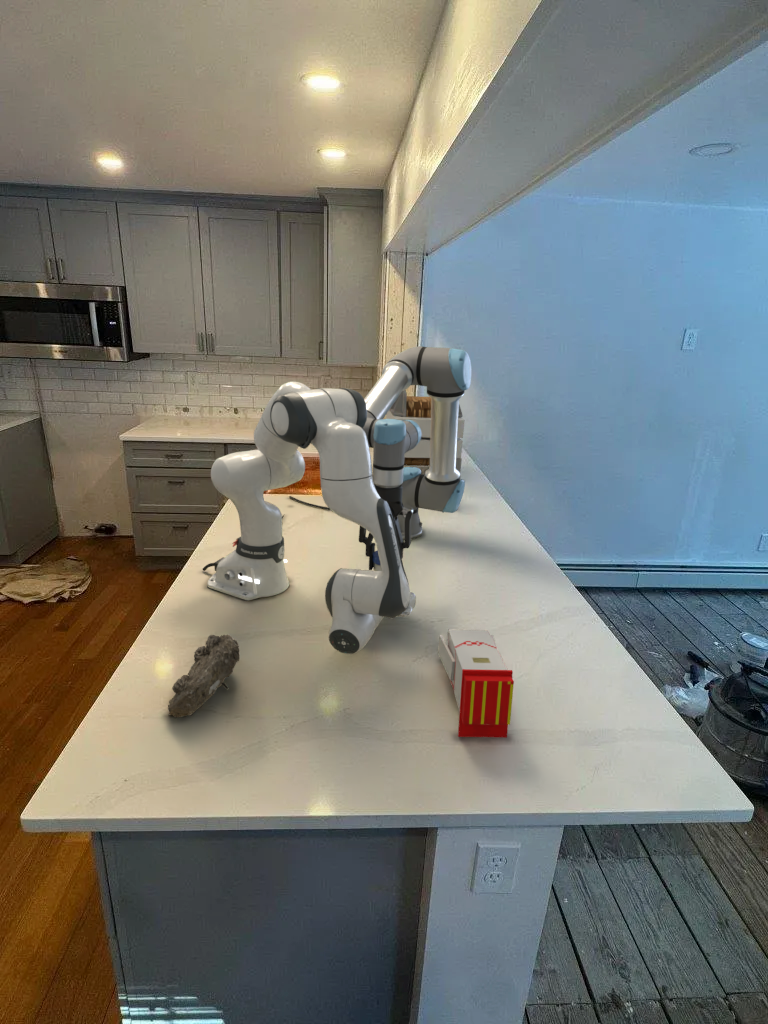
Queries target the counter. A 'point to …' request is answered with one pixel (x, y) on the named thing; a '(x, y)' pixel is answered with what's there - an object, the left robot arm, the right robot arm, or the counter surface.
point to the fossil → (204, 675)
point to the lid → (376, 558)
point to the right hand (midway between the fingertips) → (383, 569)
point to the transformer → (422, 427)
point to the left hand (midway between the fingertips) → (383, 584)
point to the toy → (478, 682)
